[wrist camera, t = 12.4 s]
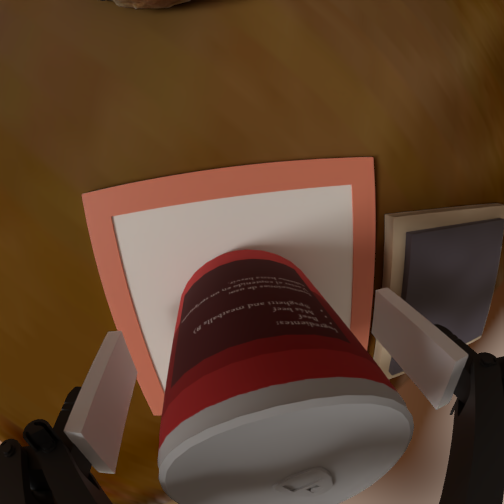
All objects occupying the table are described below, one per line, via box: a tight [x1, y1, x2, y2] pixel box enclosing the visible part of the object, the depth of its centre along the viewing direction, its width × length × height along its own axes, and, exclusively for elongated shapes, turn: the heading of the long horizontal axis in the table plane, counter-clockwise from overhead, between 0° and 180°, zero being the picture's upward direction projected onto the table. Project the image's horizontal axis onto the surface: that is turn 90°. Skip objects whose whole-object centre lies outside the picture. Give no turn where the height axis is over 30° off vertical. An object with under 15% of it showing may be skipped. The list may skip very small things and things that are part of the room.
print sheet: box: [82, 157, 376, 415], centre depth 17 cm, size 16×16×1 cm
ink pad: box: [373, 203, 504, 379], centre depth 18 cm, size 13×13×2 cm
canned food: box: [158, 249, 414, 504], centre depth 11 cm, size 8×8×11 cm
